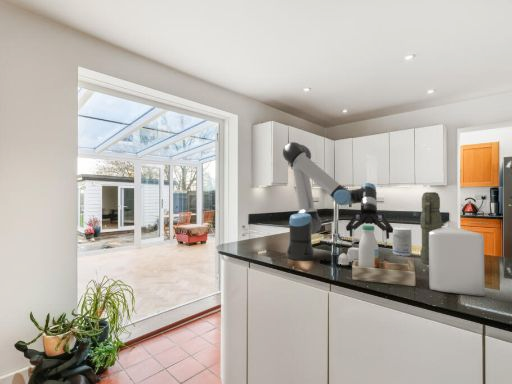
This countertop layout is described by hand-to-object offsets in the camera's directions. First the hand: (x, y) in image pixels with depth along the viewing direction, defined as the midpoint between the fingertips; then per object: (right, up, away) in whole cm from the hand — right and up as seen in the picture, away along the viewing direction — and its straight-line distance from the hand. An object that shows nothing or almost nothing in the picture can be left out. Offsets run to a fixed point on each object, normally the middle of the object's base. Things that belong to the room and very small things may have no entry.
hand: (369, 243), depth 122 cm
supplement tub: (+32, -13, +32) cm, 47 cm away
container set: (-3, -13, +17) cm, 22 cm away
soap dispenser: (+20, -12, -24) cm, 33 cm away
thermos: (+36, -12, +12) cm, 40 cm away
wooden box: (0, -12, -12) cm, 17 cm away
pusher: (+2, -11, -12) cm, 16 cm away
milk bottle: (-4, -11, -10) cm, 15 cm away
